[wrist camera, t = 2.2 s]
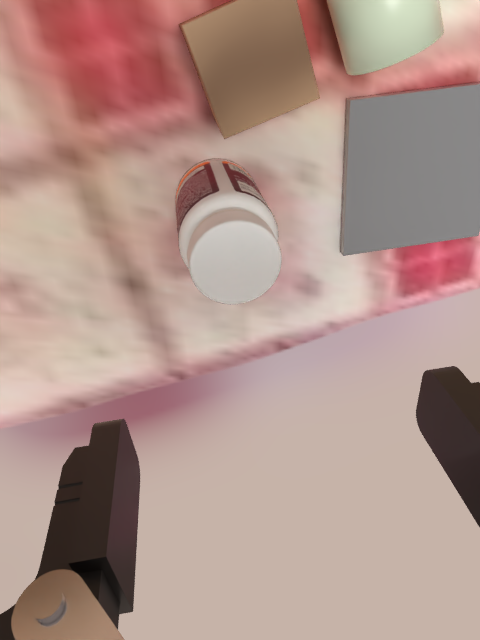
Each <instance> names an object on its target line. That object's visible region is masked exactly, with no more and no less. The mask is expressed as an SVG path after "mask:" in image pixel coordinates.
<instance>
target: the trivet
mask: <svg viewBox="0 0 480 640" xmlns="http://www.w3.org/2000/svg"><path fill="white" fill-rule="evenodd" d="M479 231H480V82H475V83H467V84H459V85H451V86H443V87H435V88H427V89H419V90H411V91H403V92H395V93H387V94H379V95H371V96H363V97H355V98H347V99H346V123H345V148H344V172H343V197H342V221H341V246H340V252H341V253H342V255H343V256H345V255H352V254H359V253H366V252H372V251H379V250H386V249H393V248H399V247H406V246H413V245H419V244H426V243H433V242H440V241H446V240H453V239H460V238H467V237H473V236H479Z"/></svg>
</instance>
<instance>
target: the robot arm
mask: <svg viewBox="0 0 480 640" xmlns="http://www.w3.org/2000/svg"><path fill="white" fill-rule="evenodd" d="M416 418H417V423H418V426H419V429H420V431H421V433H422V435H423V436H424V438H425V439H426V441H427V443H428V444H429V446H430V447H431V449H432V451H433V453H434V454H435V456H436V457H437V459H438V461H439V462H440V464H441V465H442V467H443V469H444V470H445V472H446V473H447V475H448V477H449V478H450V480H451V482H452V483H453V485H454V487H455V488H456V490H457V491H458V493H459V494H460V496H461V498H462V499H463V501H464V503H465V504H466V506H467V508H468V509H469V511H470V512H471V514H472V516H473V517H474V519H475V520H476V522H477V524H478V525H479V527H480V383H479V382H476V383H470V381H469V380H468V379H467V378H466V377H465V376H464V374H463V373H462V372H461V371H460V370H459V369H458V368H457V367H455V366H451V367H445V368H439V369H433V370H427V371H425V372H424V374H423V377H422V382H421V388H420V393H419V398H418V403H417V409H416ZM58 486H59V490H57V494H56V498H55V506H54V507H53V512H52V516H51V520H50V525H49V529H48V533H47V538H46V542H45V546H44V551H43V555H42V560H41V564H40V568H39V571H38V574H37V576H36V578H35V580H34V581H33V582H32V583H31V584H30V585H29V586H28V587H27V588H26V589H25V590H24V592H23V593H22V594H21V596H20V597H19V599H18V601H17V603H16V604H15V605H14V606H12V607H11V608H10V609H8V610H7V611H5V612H4V613H2V614H0V640H124V638H123V637H122V635H121V634H120V633H119V631H118V620H119V614H122V613H128V612H133V601H134V582H135V564H136V547H137V527H138V509H139V491H140V468H139V461H138V457H137V454H136V451H135V448H134V445H133V442H132V439H131V436H130V433H129V430H128V427H127V424H126V422H125V420H124V419H119V420H113V421H107V422H101V423H95V424H94V425H93V428H92V433H91V439H90V444H89V446H83V447H77V448H75V449H74V450H73V452H72V453H71V455H70V456H69V458H68V459H67V461H66V462H65V464H64V465H63V468H62V472H61V477H60V481H59V485H58Z"/></svg>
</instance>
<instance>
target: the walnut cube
mask: <svg viewBox="0 0 480 640" xmlns="http://www.w3.org/2000/svg"><path fill="white" fill-rule="evenodd" d="M179 26H180V28H181V31H182V34H183V36H184V39H185V42H186V44H187V47H188V50H189V52H190V55H191V58H192V60H193V63H194V66H195V68H196V71H197V74H198V76H199V79H200V82H201V84H202V87H203V90H204V92H205V95H206V98H207V100H208V103H209V106H210V108H211V111H212V114H213V116H214V119H215V121H216V123H217V125H218V127H219V129H220V131H221V133H222V135H223V137H224V139H226V138H228V137H230V136H233V135H235V134H237V133H240V132H242V131H244V130H247V129H249V128H251V127H254V126H256V125H258V124H261V123H263V122H265V121H268V120H270V119H272V118H275V117H277V116H279V115H282V114H284V113H286V112H289V111H291V110H293V109H296V108H298V107H300V106H303V105H305V104H307V103H310V102H312V101H314V100H317V99H319V98H320V96H319V92H318V88H317V84H316V79H315V75H314V71H313V67H312V63H311V58H310V54H309V50H308V46H307V42H306V37H305V33H304V29H303V25H302V21H301V16H300V12H299V8H298V4H297V0H231V1H229V2H226V3H224V4H222V5H220V6H218V7H216V8H213V9H211V10H209V11H207V12H205V13H202V14H200V15H198V16H196V17H194V18H191V19H189V20H187V21H185V22H183V23H180V24H179Z"/></svg>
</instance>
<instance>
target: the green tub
mask: <svg viewBox="0 0 480 640" xmlns="http://www.w3.org/2000/svg"><path fill="white" fill-rule="evenodd" d="M326 1H327V5H328V8H329V12H330V15H331V19H332V23H333V26H334V30H335V33H336V37H337V40H338V44H339V48H340V51H341V55H342V58H343V62H344V66H345V69H346V73H347V74H349V75H361V74H366V73H370V72H374V71H377V70H380V69H383V68H386V67H388V66H391V65H394V64H396V63H398V62H401V61H403V60H405V59H407V58H409V57H411V56H413V55H415V54H417V53H419V52H421V51H422V50H424V49H426V48H427V47H429V46H430V45H432V44H433V43H434V42H436V41H437V40H438V39H439V38H440V37H441V36H442V35H443V33H444V28H443V22H442V15H441V9H440V2H439V0H326Z"/></svg>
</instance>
